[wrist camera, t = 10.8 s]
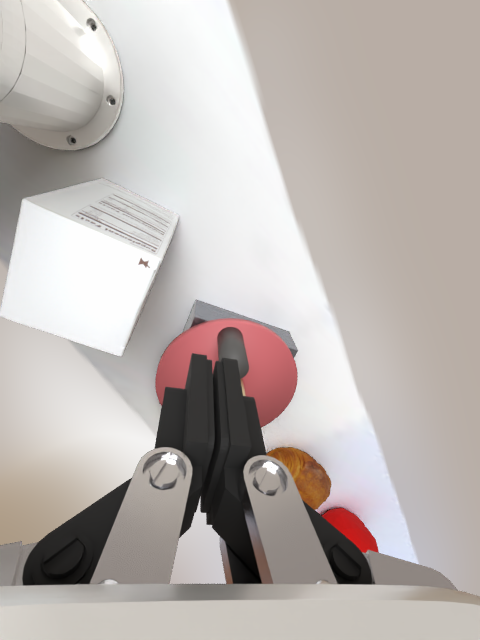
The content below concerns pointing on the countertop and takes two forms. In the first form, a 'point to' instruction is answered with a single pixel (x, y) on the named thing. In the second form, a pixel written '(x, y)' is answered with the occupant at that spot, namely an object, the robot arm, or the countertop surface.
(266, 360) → the handwheel
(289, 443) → the countertop surface
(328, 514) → the tomato
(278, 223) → the countertop surface
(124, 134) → the countertop surface
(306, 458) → the croissant
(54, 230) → the supplement box
